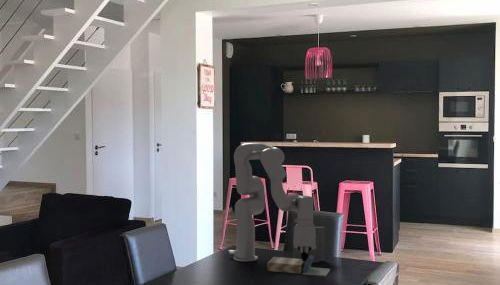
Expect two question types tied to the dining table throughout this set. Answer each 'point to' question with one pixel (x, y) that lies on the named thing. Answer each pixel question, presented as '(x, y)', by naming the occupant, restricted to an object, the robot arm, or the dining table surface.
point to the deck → (286, 265)
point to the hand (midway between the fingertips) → (304, 260)
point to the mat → (317, 271)
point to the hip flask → (319, 250)
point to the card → (308, 263)
